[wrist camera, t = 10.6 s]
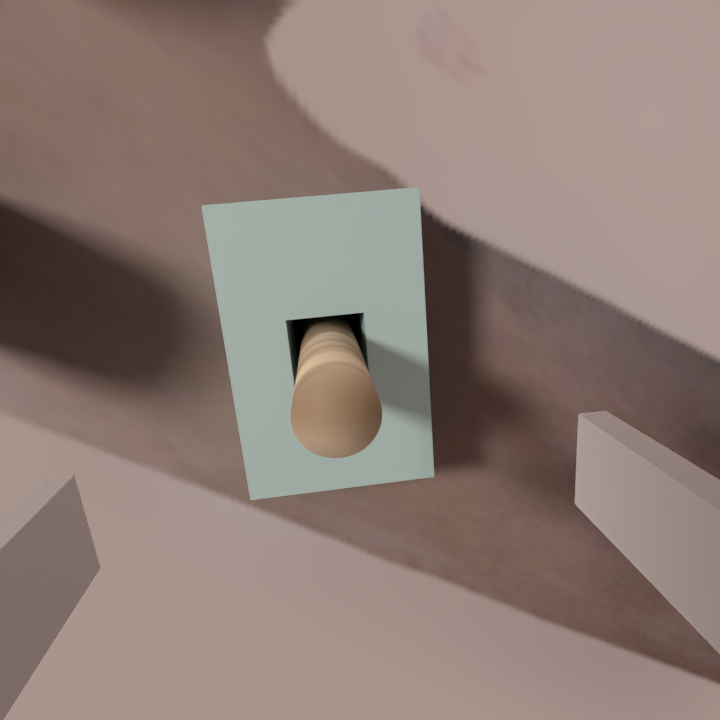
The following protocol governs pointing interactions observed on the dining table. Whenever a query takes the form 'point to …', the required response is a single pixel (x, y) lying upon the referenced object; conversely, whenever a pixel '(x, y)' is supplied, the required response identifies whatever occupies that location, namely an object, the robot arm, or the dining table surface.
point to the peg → (333, 391)
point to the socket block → (319, 299)
